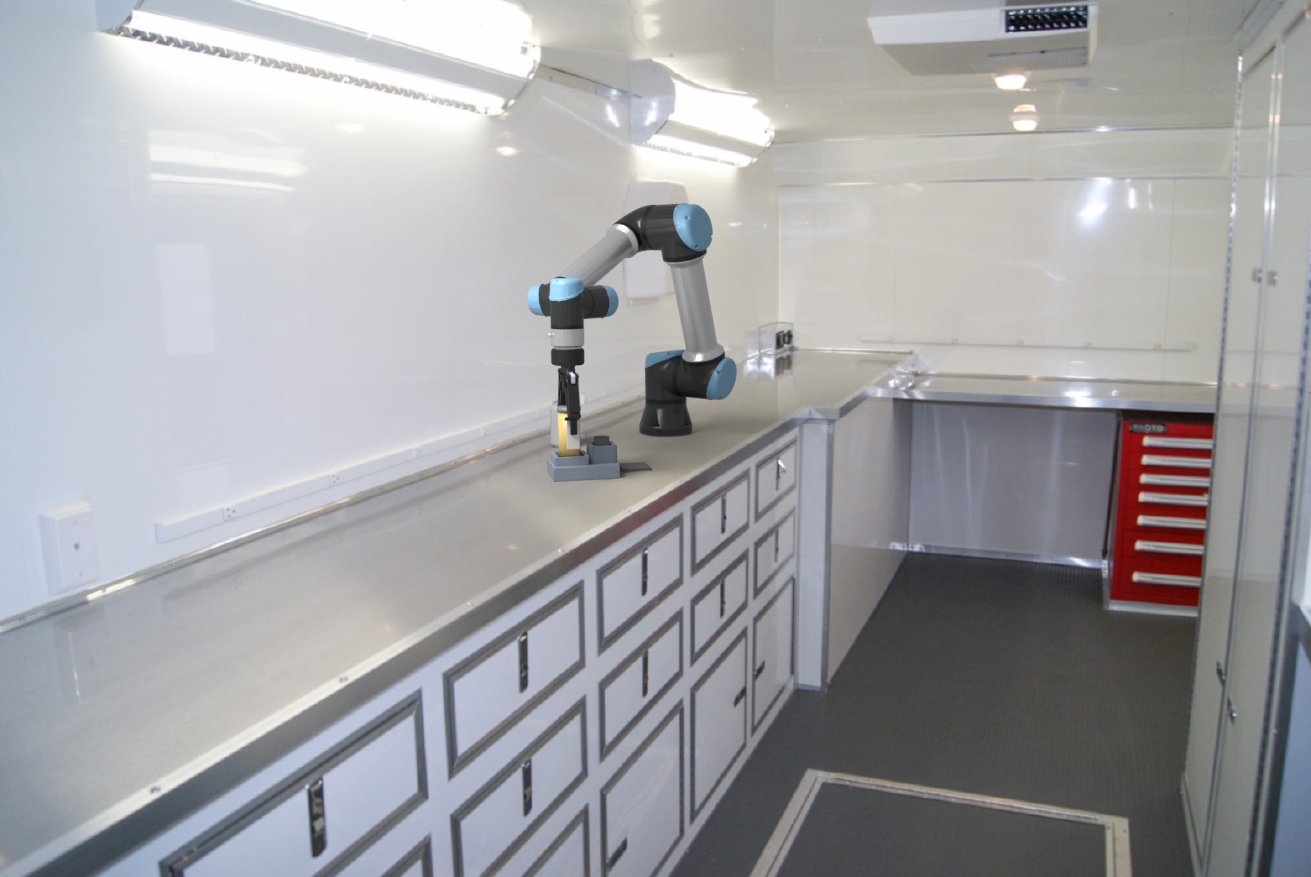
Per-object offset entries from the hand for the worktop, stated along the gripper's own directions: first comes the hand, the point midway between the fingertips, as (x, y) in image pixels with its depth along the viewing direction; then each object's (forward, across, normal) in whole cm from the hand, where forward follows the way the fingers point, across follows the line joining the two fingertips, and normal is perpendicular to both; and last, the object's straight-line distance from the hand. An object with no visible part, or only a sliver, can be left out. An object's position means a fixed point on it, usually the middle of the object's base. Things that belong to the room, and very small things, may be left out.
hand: (569, 444), depth 237 cm
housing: (+7, 0, +3) cm, 8 cm away
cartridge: (+4, 0, 0) cm, 4 cm away
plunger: (+4, 0, +7) cm, 8 cm away
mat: (+7, -4, +16) cm, 18 cm away
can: (+8, -36, +4) cm, 37 cm away
